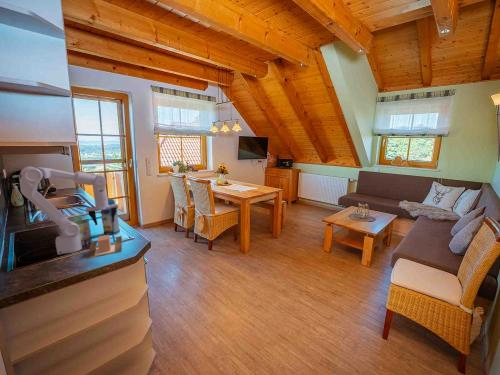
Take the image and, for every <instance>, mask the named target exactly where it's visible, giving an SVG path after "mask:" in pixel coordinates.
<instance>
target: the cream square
mask: <svg viewBox="0 0 500 375" xmlns="http://www.w3.org/2000/svg"><path fill="white" fill-rule="evenodd" d="M112 252H115V244H114V245H111V250H110V251H107V252H102V253H99V248H96V251H95V255H94V256H98V255H102V254H107V253H112Z"/></svg>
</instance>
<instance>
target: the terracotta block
mask: <svg viewBox="0 0 500 375" xmlns="http://www.w3.org/2000/svg"><path fill="white" fill-rule="evenodd" d="M110 238H111V236H109V235H104V234H103V235H99V236H98V238H97V240H98V242H97V246H98V248H99V253H102V252H107V251H110V250H111V244H112V243H111V239H110Z"/></svg>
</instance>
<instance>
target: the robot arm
mask: <svg viewBox="0 0 500 375" xmlns="http://www.w3.org/2000/svg"><path fill="white" fill-rule="evenodd" d="M18 178H19V188H20V192H21V194H22V195H23V196H24V197H25V198H26V199H27V200H28V201H30V202H31V203H32V204H33V205H34V206H36V207H37V208H38V209H39V210H40V211H41V212H42V213H43V214H44V215H46V216H47V217H48V218H49V219H50V220H51V221H53V222H54V223H55V225H57V226H58V228H59V230H60V231H61V234H60V236H56V238H55V249H56V253H57V255H63V254H69V253H70V254H71V253H75V252H78V251H81V250H82V249H83V245H82V244H83V243H82V241H81V238H80V232H79V226H78V225H77V224H76V223H75V222H74V221H75V220H70V219H71V218H68V217H66V215H64V214H63V213H62V212H61V210H59V209H57V208H56V207H55V205H53V204H52V203H51V202H50V201H49V200H47V198H45V196H43V195H42V194H41V193H40V192H39V191H38V188H39V183H40V182H41V181H42V179H44V180H45V179H49V178H58V179H66V180H72V181H73V182H74V184H79V185H80V184H81V185H85V186H92V192H93V198H94V205H95V206H91V207H86V208H84V209H85V213H86V214H87V213H88V216H89V218H91V219H92V221H93V223H94V225H95V226H98V220H97V214H96V212H99V211H100V212H101V210H108V209H111V214H112V222H114V216H115V213H116V209H117V210H118V209H119V207H120V206H119V204H118V203H117V204H116V203H115V204H113V205H108V199H109V198H108V193H107V192H108V191H107V188H106V185H107V182H108V180H106V178H105V176H103V175H101V174H96V173H94V172H93V173H89V172H85V171H84V170H80V171H76V172H69V171H65V170H60V169H56V168H55V169H54V168H50V167H44V166H43V167H41V166H36V167H35V166H30V165H28V166H25V167H23V168H22V169H21V171H20V173H19V175H18Z"/></svg>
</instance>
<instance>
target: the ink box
mask: <svg viewBox="0 0 500 375" xmlns="http://www.w3.org/2000/svg"><path fill="white" fill-rule="evenodd" d="M69 219H70V220H73V221H74V222H75V223H76V224H77V225H78V226H79V232H80V238H81V242H82V241H87V240H90V239H91V238H92V237H91V233H90V226H89V222H88V221H84V220H83V218H82V215H81V214H79V215H77V216H75V217H73V218H69ZM76 219H77V220H76Z"/></svg>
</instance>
